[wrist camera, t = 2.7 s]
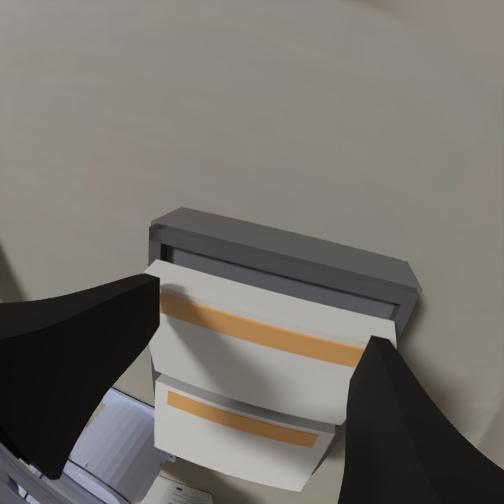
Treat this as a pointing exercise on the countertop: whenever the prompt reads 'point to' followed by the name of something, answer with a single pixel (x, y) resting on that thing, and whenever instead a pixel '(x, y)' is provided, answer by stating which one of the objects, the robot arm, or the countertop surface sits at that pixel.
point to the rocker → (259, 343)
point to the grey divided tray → (287, 268)
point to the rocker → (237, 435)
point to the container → (175, 493)
